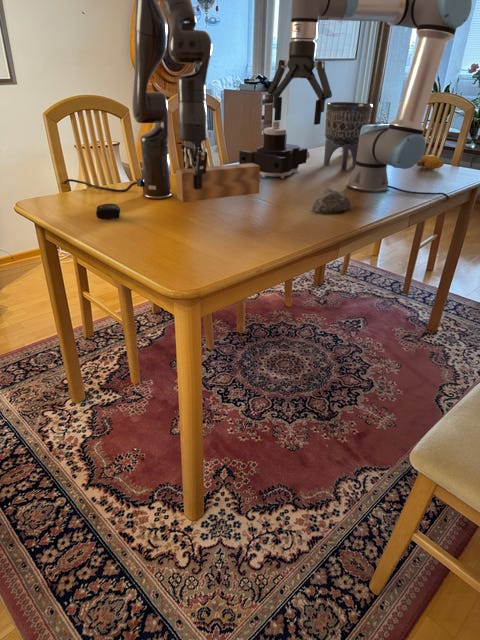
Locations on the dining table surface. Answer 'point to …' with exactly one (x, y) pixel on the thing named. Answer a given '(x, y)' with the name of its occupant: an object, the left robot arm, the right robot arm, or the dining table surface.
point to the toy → (430, 162)
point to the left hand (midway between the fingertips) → (194, 186)
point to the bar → (219, 182)
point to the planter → (345, 128)
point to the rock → (331, 202)
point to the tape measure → (108, 211)
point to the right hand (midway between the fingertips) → (296, 122)
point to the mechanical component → (275, 154)
